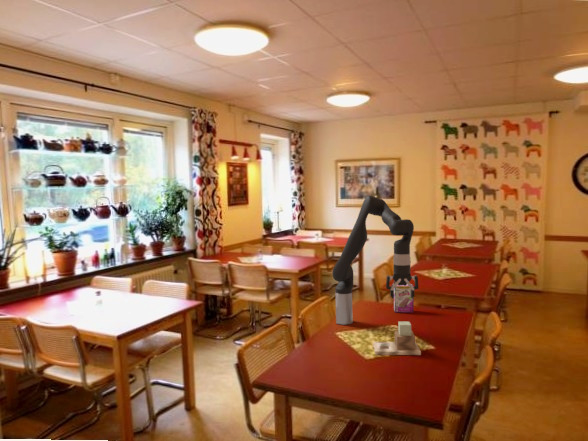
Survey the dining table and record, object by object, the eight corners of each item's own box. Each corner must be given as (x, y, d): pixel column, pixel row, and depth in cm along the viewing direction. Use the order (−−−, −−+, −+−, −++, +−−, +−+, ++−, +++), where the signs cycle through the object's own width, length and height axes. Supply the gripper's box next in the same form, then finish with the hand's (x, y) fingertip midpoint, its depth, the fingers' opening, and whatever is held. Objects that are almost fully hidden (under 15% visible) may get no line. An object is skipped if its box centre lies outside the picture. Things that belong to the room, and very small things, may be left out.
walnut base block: (397, 349, 187) (397, 336, 187) (394, 343, 195) (394, 330, 195) (415, 349, 186) (415, 336, 186) (412, 343, 194) (412, 330, 194)
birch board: (375, 354, 186) (375, 351, 186) (373, 344, 198) (373, 341, 198) (420, 355, 184) (420, 351, 184) (415, 344, 196) (415, 341, 196)
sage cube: (400, 335, 188) (399, 325, 188) (398, 332, 193) (398, 321, 193) (411, 335, 188) (411, 325, 187) (409, 332, 193) (409, 321, 192)
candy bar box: (395, 312, 248) (394, 285, 246) (393, 310, 253) (393, 284, 251) (414, 312, 246) (413, 285, 245) (412, 310, 251) (412, 283, 250)
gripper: (416, 261, 192) (416, 295, 193) (385, 261, 193) (385, 295, 195) (419, 264, 184) (419, 300, 186) (387, 264, 186) (387, 300, 187)
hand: (402, 298), depth 190 cm, fingers open, 8 cm apart
